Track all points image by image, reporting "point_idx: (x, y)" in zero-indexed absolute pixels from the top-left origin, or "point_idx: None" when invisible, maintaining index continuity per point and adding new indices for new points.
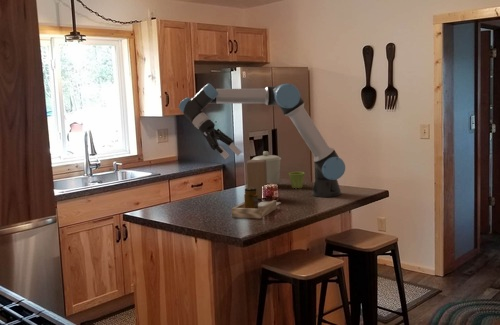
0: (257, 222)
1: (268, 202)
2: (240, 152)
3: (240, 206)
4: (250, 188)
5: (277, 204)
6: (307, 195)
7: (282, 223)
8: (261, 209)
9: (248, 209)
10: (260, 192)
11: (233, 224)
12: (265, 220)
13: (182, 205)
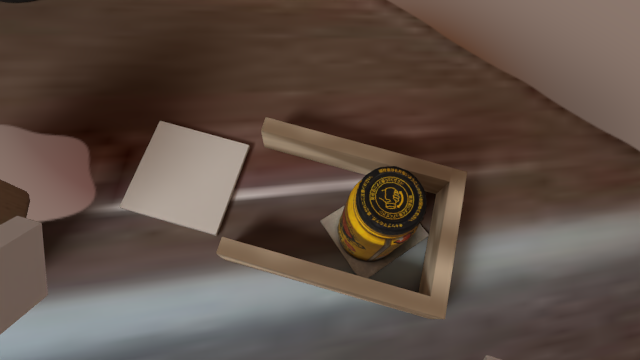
0: (517, 191)
1: (153, 173)
2: (42, 232)
3: (372, 280)
4: (381, 199)
5: (200, 132)
6: (14, 21)
7: (523, 103)
8: (451, 168)
9: (457, 227)
10: (2, 213)
11: (560, 288)
12: (483, 164)
13: None
